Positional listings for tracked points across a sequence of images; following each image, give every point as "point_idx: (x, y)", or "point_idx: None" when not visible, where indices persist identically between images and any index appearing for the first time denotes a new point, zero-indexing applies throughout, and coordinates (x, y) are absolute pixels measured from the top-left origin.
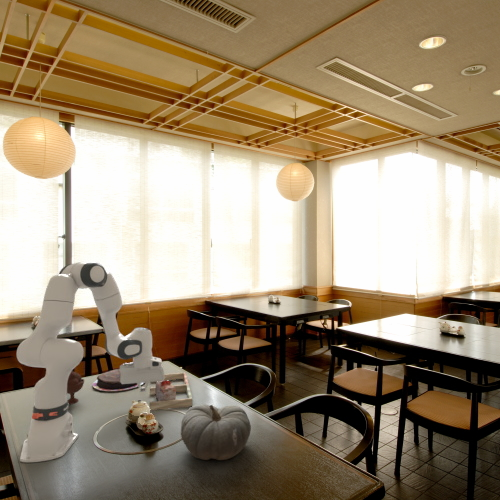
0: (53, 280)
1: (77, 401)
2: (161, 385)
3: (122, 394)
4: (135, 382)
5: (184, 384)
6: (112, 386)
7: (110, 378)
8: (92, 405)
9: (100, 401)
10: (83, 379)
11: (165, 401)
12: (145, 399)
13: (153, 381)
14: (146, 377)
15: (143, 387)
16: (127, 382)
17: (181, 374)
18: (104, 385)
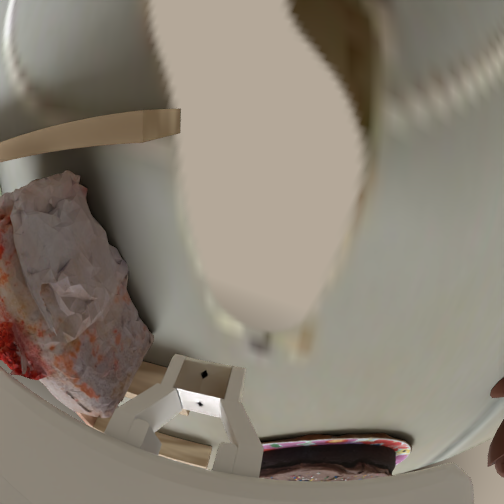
0: None
1: (501, 380)
2: (27, 338)
3: (339, 417)
4: (285, 489)
5: None
6: (364, 455)
7: None
8: (494, 345)
9: (452, 377)
10: (492, 462)
11: (28, 133)
12: (220, 342)
13: (44, 401)
14: (89, 495)
15: (193, 403)
16: (403, 489)
17: (100, 427)
18: (387, 458)
